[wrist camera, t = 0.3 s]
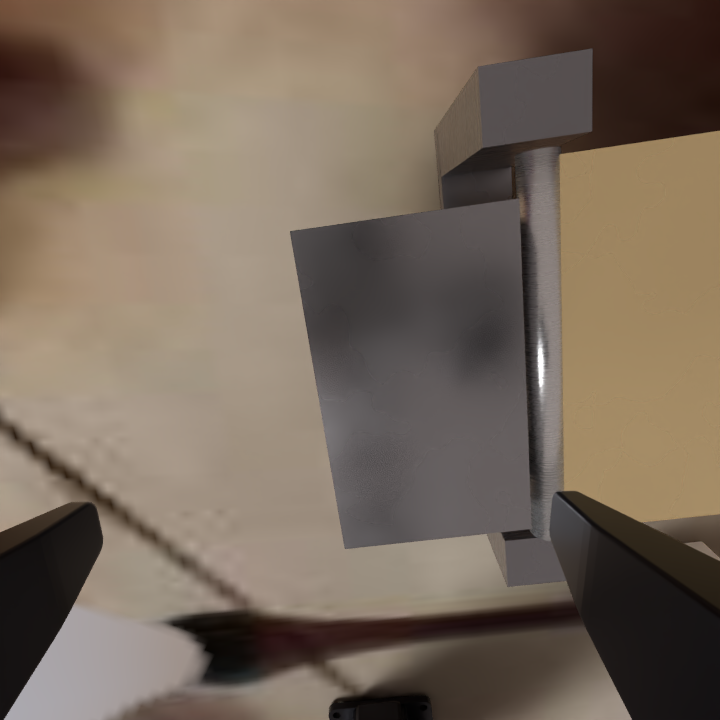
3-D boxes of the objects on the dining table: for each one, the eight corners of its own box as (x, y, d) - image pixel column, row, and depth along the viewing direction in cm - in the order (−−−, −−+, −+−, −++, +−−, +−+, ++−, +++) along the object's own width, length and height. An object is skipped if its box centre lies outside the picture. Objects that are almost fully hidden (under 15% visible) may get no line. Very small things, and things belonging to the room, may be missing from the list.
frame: (518, 467, 24) (590, 578, 16) (462, 474, 24) (507, 586, 17) (503, 119, 20) (592, 48, 12) (434, 130, 20) (477, 66, 12)
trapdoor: (860, 470, 17) (955, 516, 14) (352, 526, 18) (350, 579, 15) (930, 98, 13) (1074, 64, 11) (297, 191, 14) (281, 182, 12)
